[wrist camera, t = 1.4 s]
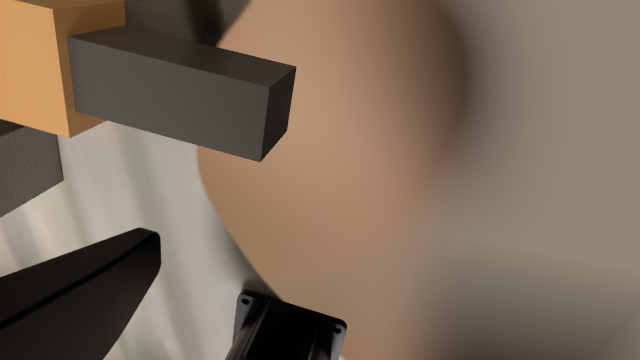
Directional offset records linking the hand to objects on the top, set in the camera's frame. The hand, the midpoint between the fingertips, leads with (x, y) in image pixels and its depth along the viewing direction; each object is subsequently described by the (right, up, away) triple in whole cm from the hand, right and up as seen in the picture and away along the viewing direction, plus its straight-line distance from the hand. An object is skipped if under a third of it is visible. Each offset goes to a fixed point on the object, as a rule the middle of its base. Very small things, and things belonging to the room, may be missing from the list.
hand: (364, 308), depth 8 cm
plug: (-8, +8, +11) cm, 15 cm away
